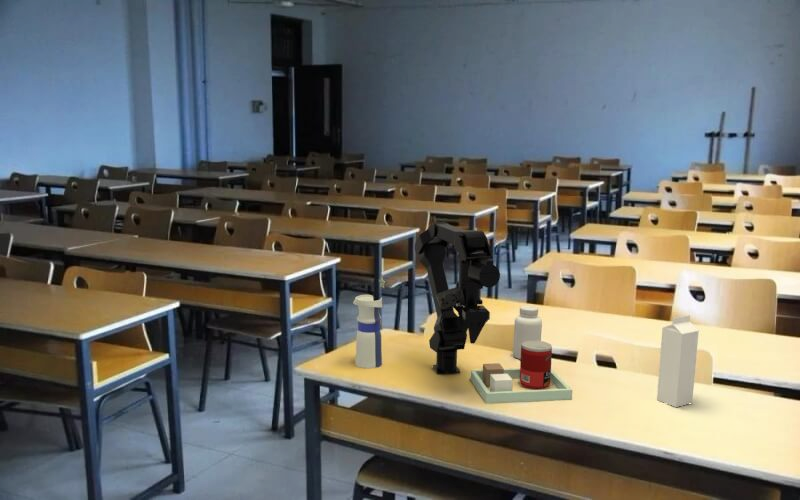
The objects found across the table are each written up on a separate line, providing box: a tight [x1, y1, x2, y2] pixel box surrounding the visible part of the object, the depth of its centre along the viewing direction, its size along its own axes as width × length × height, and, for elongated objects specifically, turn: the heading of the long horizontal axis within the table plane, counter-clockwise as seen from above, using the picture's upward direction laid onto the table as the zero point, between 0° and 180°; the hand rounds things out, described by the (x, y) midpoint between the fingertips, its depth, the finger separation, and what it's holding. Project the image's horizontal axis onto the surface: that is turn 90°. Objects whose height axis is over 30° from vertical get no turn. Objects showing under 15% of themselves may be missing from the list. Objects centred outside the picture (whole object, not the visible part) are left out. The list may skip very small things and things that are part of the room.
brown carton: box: [482, 362, 505, 389], centre depth 191 cm, size 4×4×5 cm
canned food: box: [519, 340, 553, 390], centre depth 190 cm, size 8×8×11 cm
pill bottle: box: [512, 305, 543, 360], centre depth 212 cm, size 8×8×15 cm
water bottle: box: [352, 276, 386, 369], centre depth 204 cm, size 8×9×25 cm
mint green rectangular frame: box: [469, 367, 573, 404], centre depth 188 cm, size 17×22×2 cm
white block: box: [489, 374, 514, 392], centre depth 183 cm, size 4×4×5 cm
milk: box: [656, 315, 699, 408], centre depth 178 cm, size 6×6×22 cm
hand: (468, 337), depth 188 cm, fingers open, 9 cm apart
